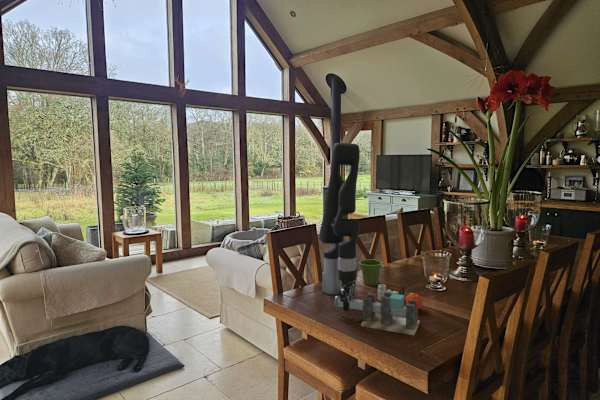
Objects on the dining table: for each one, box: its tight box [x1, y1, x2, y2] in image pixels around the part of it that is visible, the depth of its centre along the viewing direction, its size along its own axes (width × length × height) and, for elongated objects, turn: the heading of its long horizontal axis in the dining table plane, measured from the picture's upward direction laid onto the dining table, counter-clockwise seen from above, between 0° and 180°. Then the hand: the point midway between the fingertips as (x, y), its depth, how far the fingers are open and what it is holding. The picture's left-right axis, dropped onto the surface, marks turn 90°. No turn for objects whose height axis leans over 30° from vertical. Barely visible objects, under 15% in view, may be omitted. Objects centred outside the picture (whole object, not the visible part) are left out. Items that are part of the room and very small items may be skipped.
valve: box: [376, 283, 406, 301], centre depth 177 cm, size 7×7×12 cm
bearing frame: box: [360, 292, 421, 336], centre depth 151 cm, size 20×12×12 cm, turn 64°
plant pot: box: [358, 258, 383, 286], centre depth 200 cm, size 12×12×11 cm
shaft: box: [333, 295, 406, 318], centre depth 154 cm, size 30×4×4 cm, turn 64°
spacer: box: [389, 294, 405, 310], centre depth 150 cm, size 4×5×4 cm
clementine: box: [404, 292, 424, 310], centre depth 166 cm, size 8×7×7 cm
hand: (347, 309), depth 159 cm, fingers closed on shaft, 3 cm apart
